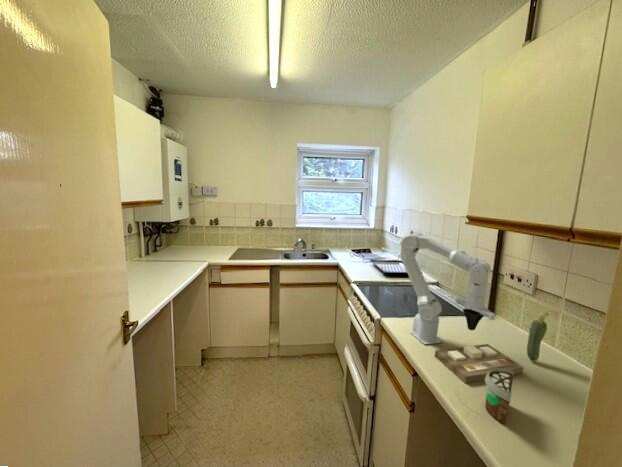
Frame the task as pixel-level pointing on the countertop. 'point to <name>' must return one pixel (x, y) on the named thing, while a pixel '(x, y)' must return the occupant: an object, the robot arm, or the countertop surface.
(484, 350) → the far button
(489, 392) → the food container
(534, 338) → the vegetable
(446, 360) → the button board
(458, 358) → the near button
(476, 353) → the middle button
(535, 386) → the countertop surface
